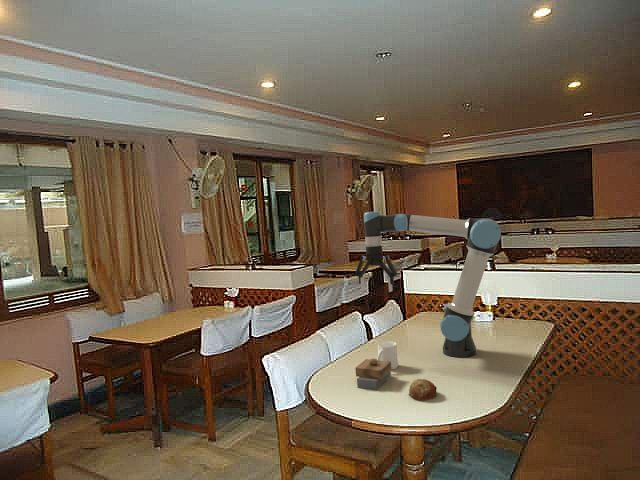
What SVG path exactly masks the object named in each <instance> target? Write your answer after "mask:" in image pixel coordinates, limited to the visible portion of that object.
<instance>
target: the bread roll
mask: <svg viewBox="0 0 640 480" xmlns="http://www.w3.org/2000/svg"><path fill="white" fill-rule="evenodd" d="M408 389H409V390H408V391H409V393H408V396H410V398H412V399H413V400H414V401H424V402H425V401H428V400H433V399H435V398H436V396H437V394H438V393H437V386H436V385H435V384H434V383H433V382H431V380H428V379H425V378H416V379H414V380H413V381H412V382H411V383H410V385H409V388H408Z"/></svg>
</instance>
